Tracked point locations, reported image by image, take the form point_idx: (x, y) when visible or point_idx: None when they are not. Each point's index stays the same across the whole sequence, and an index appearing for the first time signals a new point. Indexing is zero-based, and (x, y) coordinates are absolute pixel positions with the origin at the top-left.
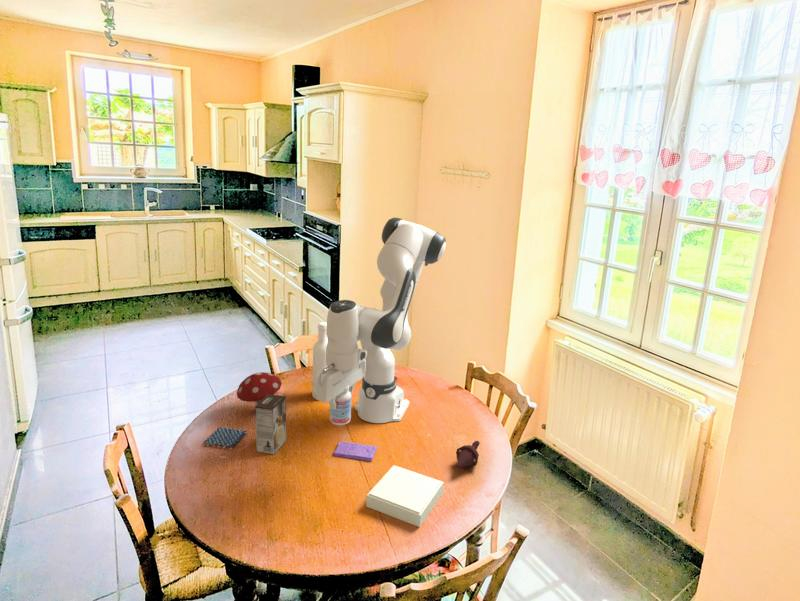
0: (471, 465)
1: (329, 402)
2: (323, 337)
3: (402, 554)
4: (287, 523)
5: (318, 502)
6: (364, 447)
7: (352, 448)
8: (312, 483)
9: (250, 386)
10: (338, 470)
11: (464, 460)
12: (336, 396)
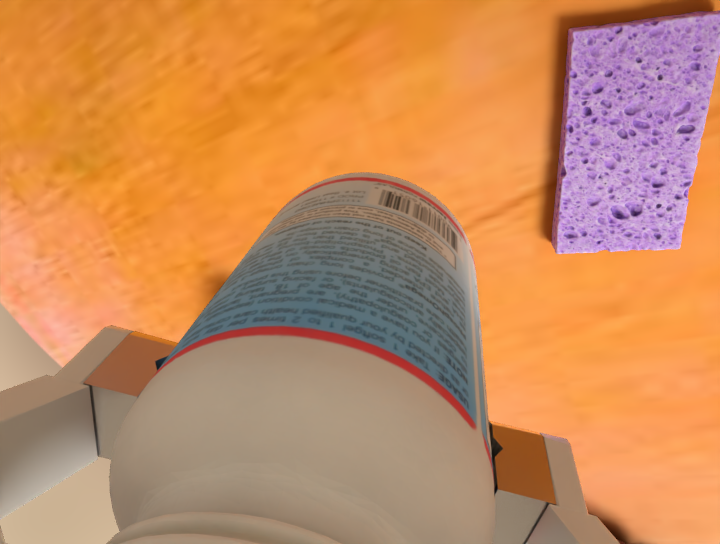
0: None
1: (15, 398)
2: None
3: None
4: (18, 45)
5: (185, 115)
6: (659, 189)
7: (643, 123)
8: (286, 24)
9: None
10: (432, 112)
11: None
12: (119, 521)
